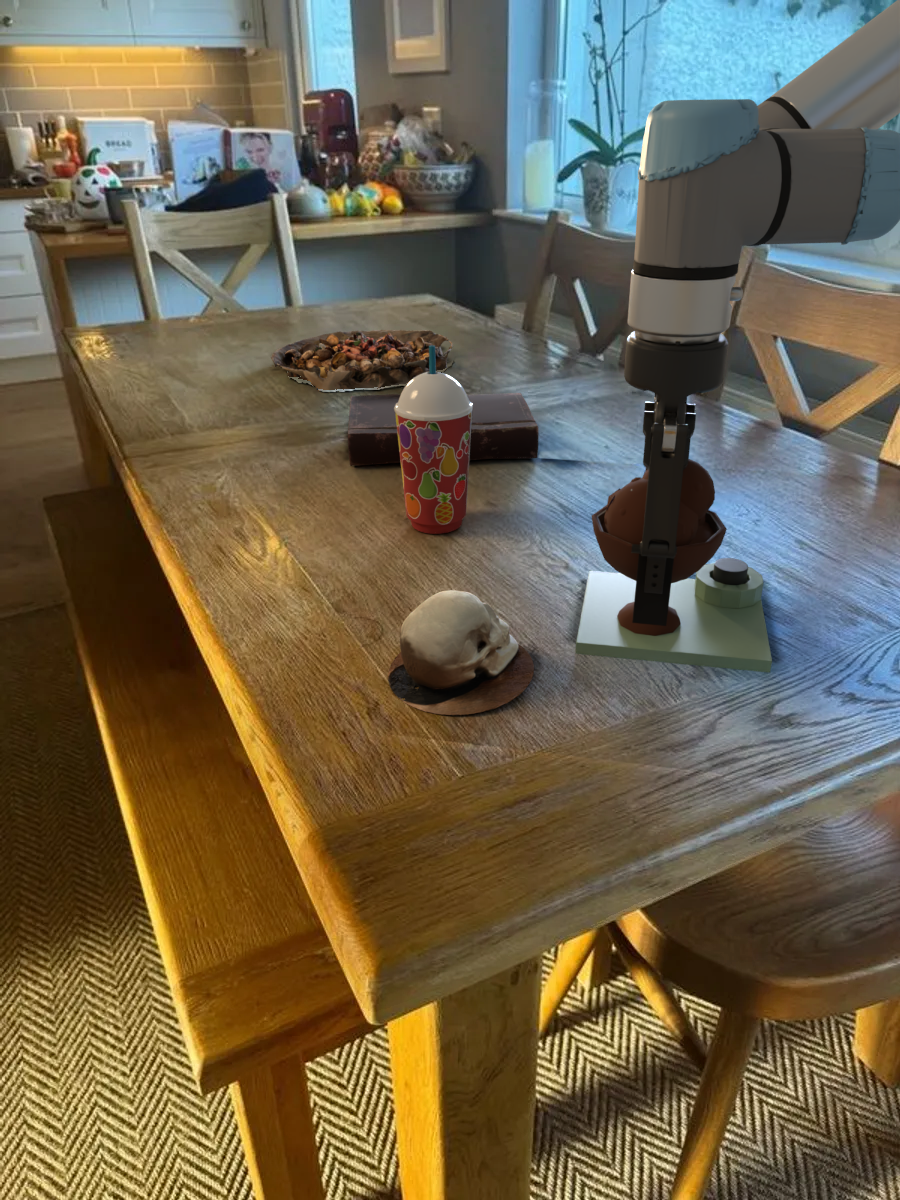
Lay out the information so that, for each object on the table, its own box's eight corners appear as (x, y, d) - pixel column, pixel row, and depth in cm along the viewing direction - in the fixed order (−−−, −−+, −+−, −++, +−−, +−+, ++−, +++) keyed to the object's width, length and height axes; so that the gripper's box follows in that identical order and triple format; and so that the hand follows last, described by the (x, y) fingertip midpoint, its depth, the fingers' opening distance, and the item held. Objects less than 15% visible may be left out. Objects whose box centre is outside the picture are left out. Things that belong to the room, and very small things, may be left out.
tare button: (744, 573, 85) (747, 558, 84) (747, 588, 82) (749, 573, 81) (711, 571, 85) (713, 556, 84) (713, 585, 83) (715, 570, 82)
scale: (756, 592, 87) (760, 564, 85) (770, 673, 74) (775, 642, 73) (588, 579, 90) (590, 551, 88) (575, 654, 77) (577, 624, 76)
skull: (477, 608, 82) (524, 561, 74) (521, 714, 80) (575, 677, 71) (358, 640, 77) (393, 593, 68) (400, 754, 74) (442, 720, 66)
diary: (538, 462, 120) (539, 425, 118) (349, 470, 119) (347, 433, 116) (518, 420, 136) (519, 387, 134) (353, 427, 135) (350, 394, 133)
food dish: (390, 409, 146) (386, 361, 142) (235, 388, 161) (228, 344, 158) (490, 355, 172) (489, 313, 168) (349, 341, 187) (345, 303, 183)
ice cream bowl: (643, 580, 87) (656, 429, 80) (738, 625, 79) (762, 462, 72) (561, 614, 81) (567, 455, 74) (654, 666, 73) (672, 494, 66)
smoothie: (474, 510, 106) (473, 336, 96) (472, 539, 99) (471, 355, 89) (403, 510, 106) (395, 337, 97) (396, 539, 99) (387, 355, 89)
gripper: (739, 372, 57) (698, 665, 68) (722, 304, 77) (692, 538, 88) (619, 368, 59) (597, 654, 69) (633, 302, 79) (614, 532, 89)
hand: (650, 590), depth 79 cm, fingers closed on ice cream bowl, 11 cm apart
